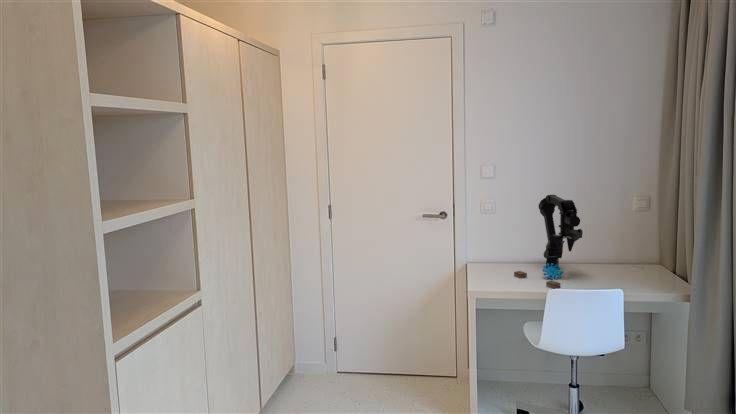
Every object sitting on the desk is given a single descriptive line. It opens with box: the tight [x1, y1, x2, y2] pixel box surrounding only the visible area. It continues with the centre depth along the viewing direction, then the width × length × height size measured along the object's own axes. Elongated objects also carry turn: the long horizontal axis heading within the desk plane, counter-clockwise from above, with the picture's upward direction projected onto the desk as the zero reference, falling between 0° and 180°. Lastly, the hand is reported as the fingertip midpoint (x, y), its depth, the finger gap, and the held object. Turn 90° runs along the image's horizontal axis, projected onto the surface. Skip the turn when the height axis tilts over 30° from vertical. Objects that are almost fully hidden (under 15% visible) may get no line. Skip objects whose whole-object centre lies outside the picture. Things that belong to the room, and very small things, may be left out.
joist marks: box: [513, 270, 561, 289], centre depth 286 cm, size 4×29×2 cm, turn 27°
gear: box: [542, 263, 565, 281], centre depth 292 cm, size 11×6×10 cm
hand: (565, 252), depth 293 cm, fingers open, 6 cm apart
